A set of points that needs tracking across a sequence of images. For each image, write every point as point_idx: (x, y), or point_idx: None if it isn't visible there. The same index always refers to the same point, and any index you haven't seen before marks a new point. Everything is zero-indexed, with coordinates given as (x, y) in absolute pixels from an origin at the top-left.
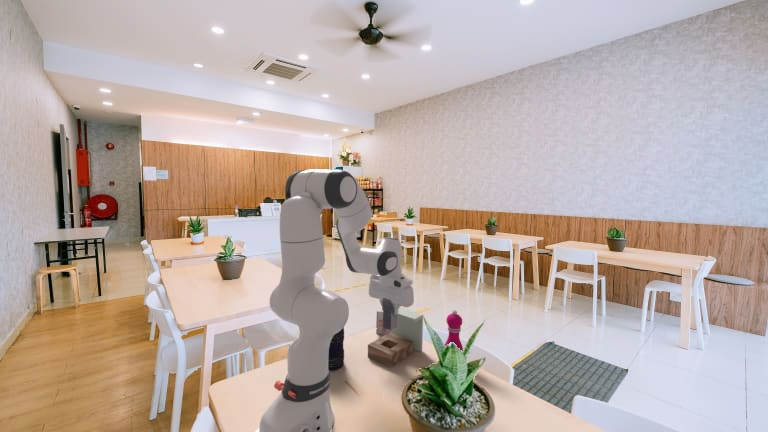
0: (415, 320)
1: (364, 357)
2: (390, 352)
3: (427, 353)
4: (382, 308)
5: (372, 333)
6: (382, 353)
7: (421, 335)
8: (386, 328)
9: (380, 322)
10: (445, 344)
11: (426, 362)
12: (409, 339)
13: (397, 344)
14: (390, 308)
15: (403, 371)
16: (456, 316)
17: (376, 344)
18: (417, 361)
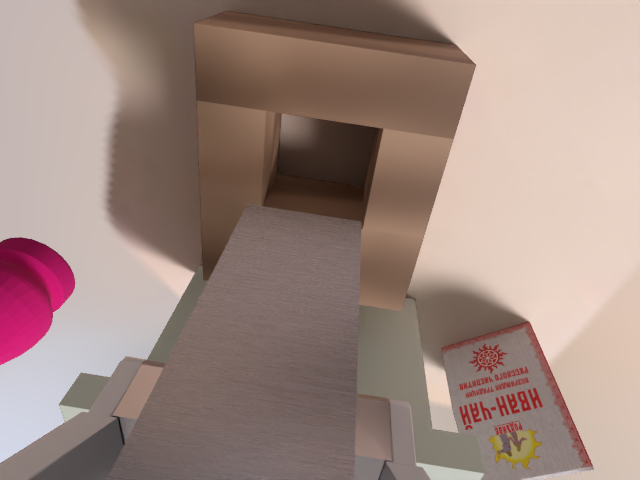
0: (72, 395)
1: (476, 21)
2: (227, 54)
3: (165, 268)
4: (398, 429)
5: (556, 317)
6: (302, 35)
7: (161, 335)
8: (309, 214)
9: (526, 390)
10: (1, 310)
11: (110, 189)
12: None
13: (260, 197)
14: (146, 428)
15: (139, 19)
16: None
17: (404, 110)
18: (152, 173)
